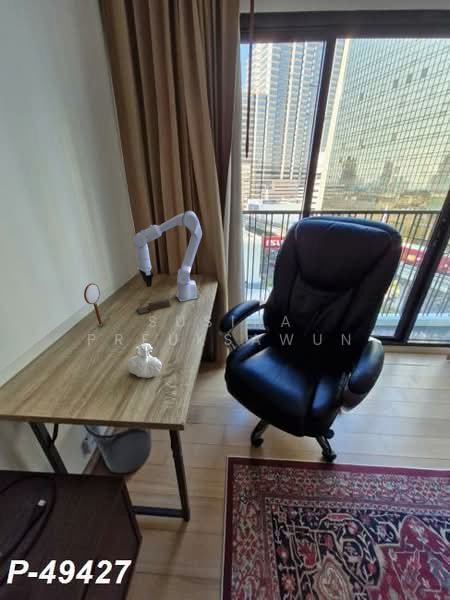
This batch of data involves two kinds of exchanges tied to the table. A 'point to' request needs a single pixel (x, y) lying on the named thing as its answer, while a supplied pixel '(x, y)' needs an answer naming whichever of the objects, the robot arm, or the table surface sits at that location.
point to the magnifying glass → (93, 298)
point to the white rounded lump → (144, 362)
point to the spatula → (154, 306)
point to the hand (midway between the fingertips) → (147, 283)
